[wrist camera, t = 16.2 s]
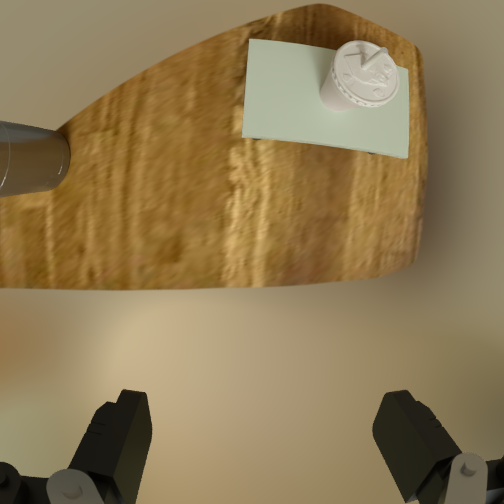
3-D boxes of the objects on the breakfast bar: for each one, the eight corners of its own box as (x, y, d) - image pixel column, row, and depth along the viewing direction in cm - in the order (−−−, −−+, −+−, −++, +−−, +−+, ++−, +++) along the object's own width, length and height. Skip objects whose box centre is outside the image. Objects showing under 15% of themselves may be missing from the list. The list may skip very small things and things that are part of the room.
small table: (240, 142, 38) (241, 135, 32) (247, 59, 36) (249, 38, 29) (383, 159, 40) (407, 157, 33) (384, 82, 37) (407, 69, 30)
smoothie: (321, 62, 30) (366, 5, 16) (368, 89, 31) (433, 51, 17) (299, 106, 31) (338, 62, 17) (349, 133, 32) (413, 110, 18)
